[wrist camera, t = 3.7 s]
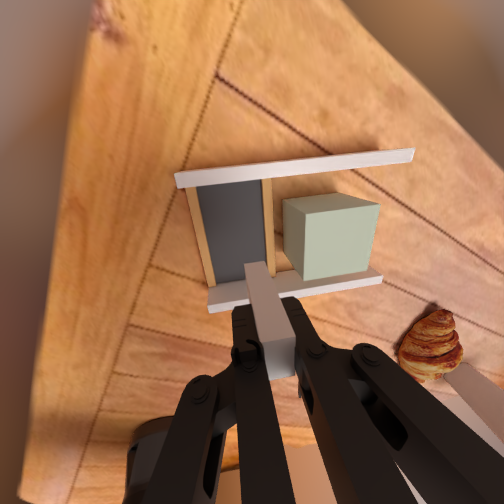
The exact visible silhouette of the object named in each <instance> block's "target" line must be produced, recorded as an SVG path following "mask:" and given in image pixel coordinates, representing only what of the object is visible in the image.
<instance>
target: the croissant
mask: <svg viewBox="0 0 504 504" xmlns="http://www.w3.org/2000/svg"><path fill="white" fill-rule="evenodd" d="M452 316H453V313H452V312H451V311H448V310H445V309H441V310H438V311H435V312H433V313H431V314H430V315H429V316H427V317H426V318H423V319H421V320H419V321H418V322H417V323H416V324H414V326H413V328H412V329H411V330H410V331H409V332H408V333H407V334H406V336H405V337H404V339H403V342H402V344H401V346H400V348H399V352H398V359H399V361H400V367H401V368H402V369H404V370H405V371H406V372H407V373H408V374H409V375H410V376H411V377H413V378H414V379H415V380H416V381H417V382H418V383H424V382H425V380H429V379H430V380H433V379H438V378H440V377H441V375H442V373H448V372H451V371H453V370H454V369H455V368H456V367H458V365H459V364H460V362H461V361H462V359H463V348H462V346H461V344H460V343H459V341H458V340H459V336H458V333H457V332H456V331H455V330H454V329H455V321H454V319H453V317H452Z"/></svg>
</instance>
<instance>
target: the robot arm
mask: <svg viewBox="0 0 504 504" xmlns="http://www.w3.org/2000/svg"><path fill="white" fill-rule="evenodd" d="M244 268H245V276H246V284H247V292H248V298H249V303H250V304H246V305H240V306H235V307H234V309H233V311H232V313H231V314H232V328H233V329H232V330H233V347H232V349H231V357H232V362H231V364H230V365H229V366H228V367H227V368H226V369H225V370H224V371H222V372H221V373H219V374H217V375H215V376H214V377H211V376H209V375H199V376H197V377H195V378H193V379H192V380H191V381H190V382H189V383H188V384H187V385H186V387H185V389H184V391H183V393H182V396H181V398H180V401H179V404H178V406H177V409H176V412H175V414H174V417H166V418H161V419H156V420H153V421H150V422H148V423H146V424H144V425H142V426H140V427H139V428H138V429H137V430H136V431H135V432H134V433H133V435H132V437H131V441H130V444H129V447H128V451H127V463H126V479H125V494H124V499H123V502H122V504H215V500H216V495H217V489H218V482H219V476H220V470H221V464H222V458H223V452H224V446H225V440H226V434H227V430H228V429H229V428H231V427H232V426H234V425H235V424H236V423H237V433H238V450H239V467H240V483H241V500H242V504H296V502H295V498H294V493H293V488H292V483H291V479H290V475H289V469H288V465H287V460H286V455H285V451H284V446H283V442H282V437H281V432H280V428H279V423H278V418H277V414H276V409H275V405H274V400H273V395H272V391H271V386H270V380H275V379H280V378H285V377H290V376H294V375H295V370H296V373H297V376H298V379H299V382H298V395H299V398H301V396H302V399H303V402H304V405H305V408H306V411H307V414H308V417H309V420H310V423H311V426H312V429H313V432H314V435H315V438H316V441H317V444H318V447H319V450H320V453H321V456H322V459H323V462H324V465H325V468H326V471H327V474H328V477H329V480H330V483H331V486H332V489H333V492H334V495H335V498H336V501H337V504H418V502H417V500H416V499H415V497H414V495H413V494H412V492H411V490H410V488H409V486H408V484H407V483H406V481H405V479H404V477H403V476H402V474H401V472H400V470H399V468H400V469H401V470H402V472H403V473H404V474H405V475H406V477H407V478H408V480H409V481H410V482H411V483H412V485H413V486H414V487H415V489H416V490H417V491H418V493H419V494H420V495H421V497H422V498H423V499H424V501H425V502H426V503H427V504H504V457H502V456H501V455H500V454H499V453H498V452H497V451H495V450H494V449H493V448H492V447H491V446H490V445H489V444H488V443H486V442H485V441H484V440H483V439H482V438H481V437H480V436H479V435H477V434H476V433H475V432H474V431H473V430H472V429H470V428H469V427H468V426H467V425H466V424H465V423H464V422H463V421H461V420H460V419H459V418H458V417H457V416H456V415H455V414H454V413H452V412H451V411H450V410H449V409H448V408H447V407H446V406H444V405H443V404H442V403H441V402H440V401H439V400H438V399H436V398H435V397H434V396H433V395H432V394H431V393H430V392H429V391H427V390H426V389H425V388H424V387H423V386H422V385H421V384H419V383H418V382H417V381H416V380H415V379H414V378H413V377H411V376H410V375H409V374H408V373H407V372H406V371H405V370H404V369H402V368H401V367H400V366H399V365H398V364H397V363H396V362H394V361H393V360H392V359H391V358H390V357H389V356H388V355H386V354H385V353H384V352H383V351H382V350H380V349H379V348H377V347H376V346H374V345H371V344H368V343H360V344H356V345H355V346H354V347H353V350H348V349H339V348H334V347H331V346H329V345H328V344H327V343H325V342H324V341H322V340H321V339H320V337H319V336H318V334H317V332H316V331H315V329H314V327H313V325H312V323H311V321H310V320H309V318H308V316H307V315H306V312H305V310H304V309H303V307H302V305H301V303H300V301H299V300H298V299H296V298H295V297H294V296H290V297H284V298H280V297H279V295H278V292H277V290H276V287H275V285H274V282H273V280H272V278H271V275H270V273H269V270H268V268H267V266H266V263H265V261H260V262H254V263H247V264H244ZM395 462H396V463H395ZM396 464H397V465H398V466H399V468H398V467H397V465H396Z"/></svg>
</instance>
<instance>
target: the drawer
mask: <svg viewBox="0 0 504 504" xmlns="http://www.w3.org/2000/svg"><path fill="white" fill-rule="evenodd" d="M185 191H186V195H187V199H188V203H189V208H190V212H191V216H192V220H193V224H194V229H195V233H196V237H197V241H198V246H199V250H200V254H201V258H202V262H203V267H204V271H205V275H206V279H207V283H208V287H214V286H216V284H217V283H223V282H229V281H235V280H241V279H246V276H245V268H244V264H247V263H254V262H260V261H265V263H266V266H267V268H268V270H269V273H270V275H271V277H275V276H276V269H275V246H274V224H273V201H272V178H266V179H257V180H248V181H240V182H231V183H222V184H213V185H205V186H196V187H187V188H185Z"/></svg>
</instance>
